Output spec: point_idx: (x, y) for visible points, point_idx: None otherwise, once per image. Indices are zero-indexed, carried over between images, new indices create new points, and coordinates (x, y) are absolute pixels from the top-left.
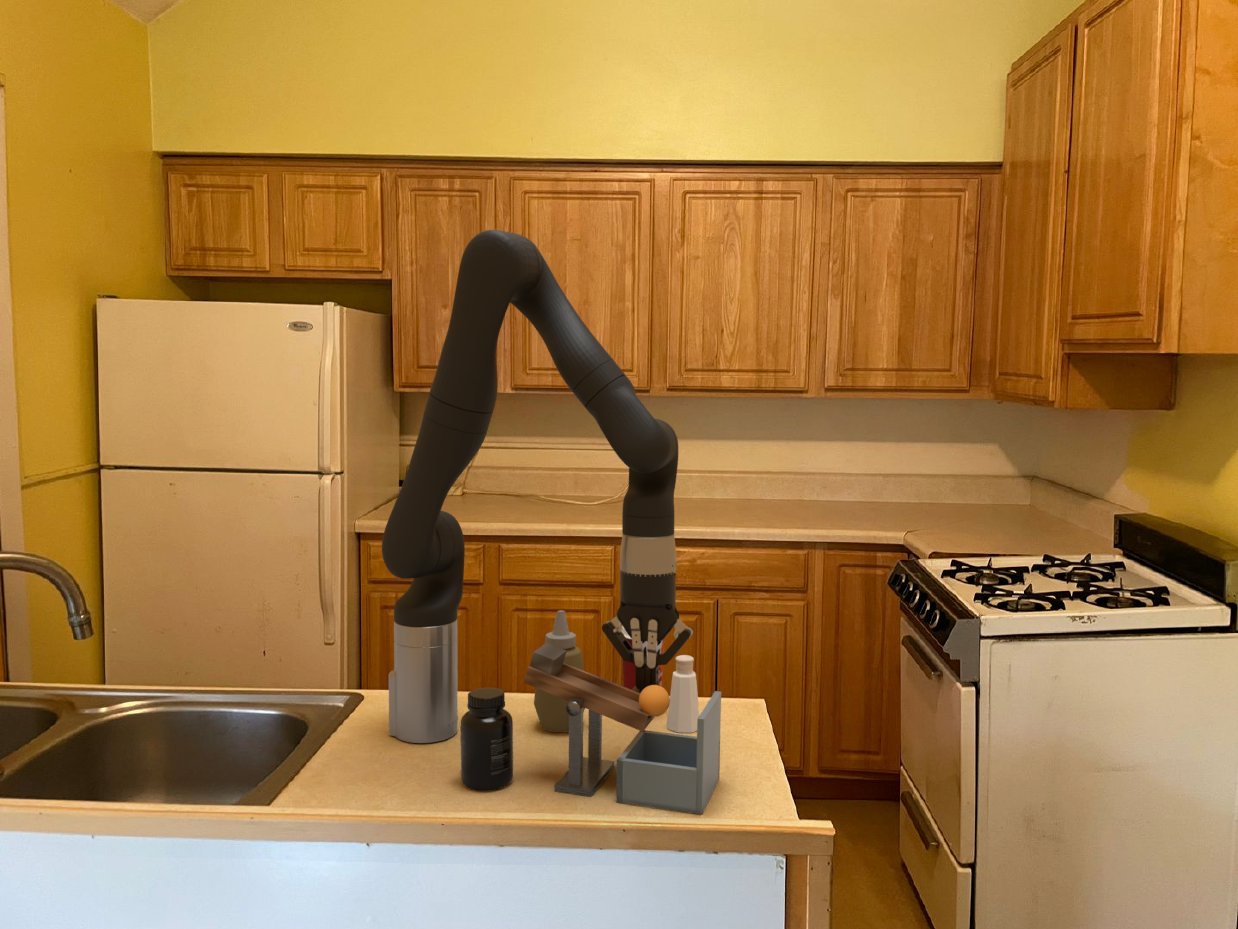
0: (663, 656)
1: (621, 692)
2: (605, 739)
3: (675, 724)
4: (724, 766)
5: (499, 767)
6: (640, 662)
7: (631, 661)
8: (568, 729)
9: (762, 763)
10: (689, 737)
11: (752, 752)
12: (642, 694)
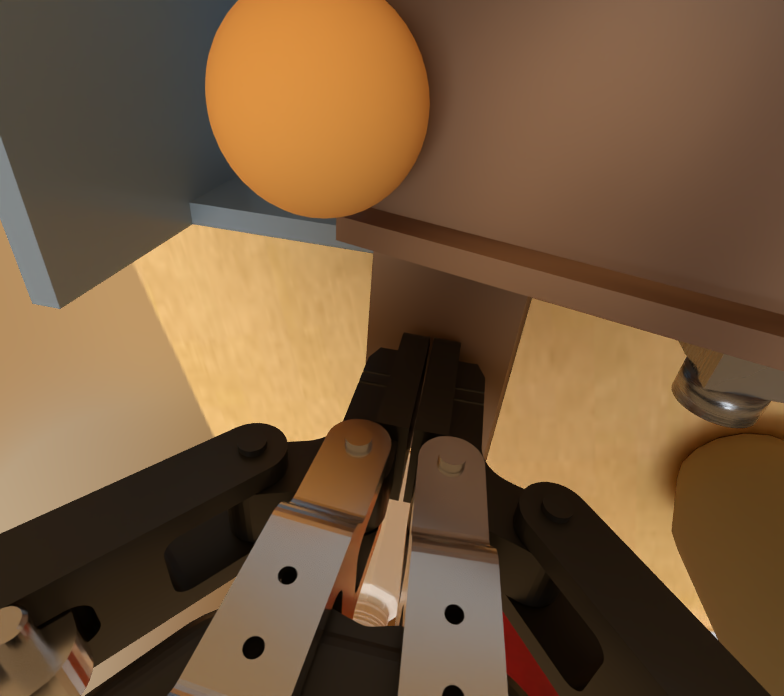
0: (242, 472)
1: (567, 265)
2: (596, 404)
3: (407, 467)
4: (251, 273)
5: None
6: (438, 460)
7: (512, 489)
8: (718, 442)
9: (173, 304)
10: (275, 220)
11: (213, 361)
12: (380, 42)
